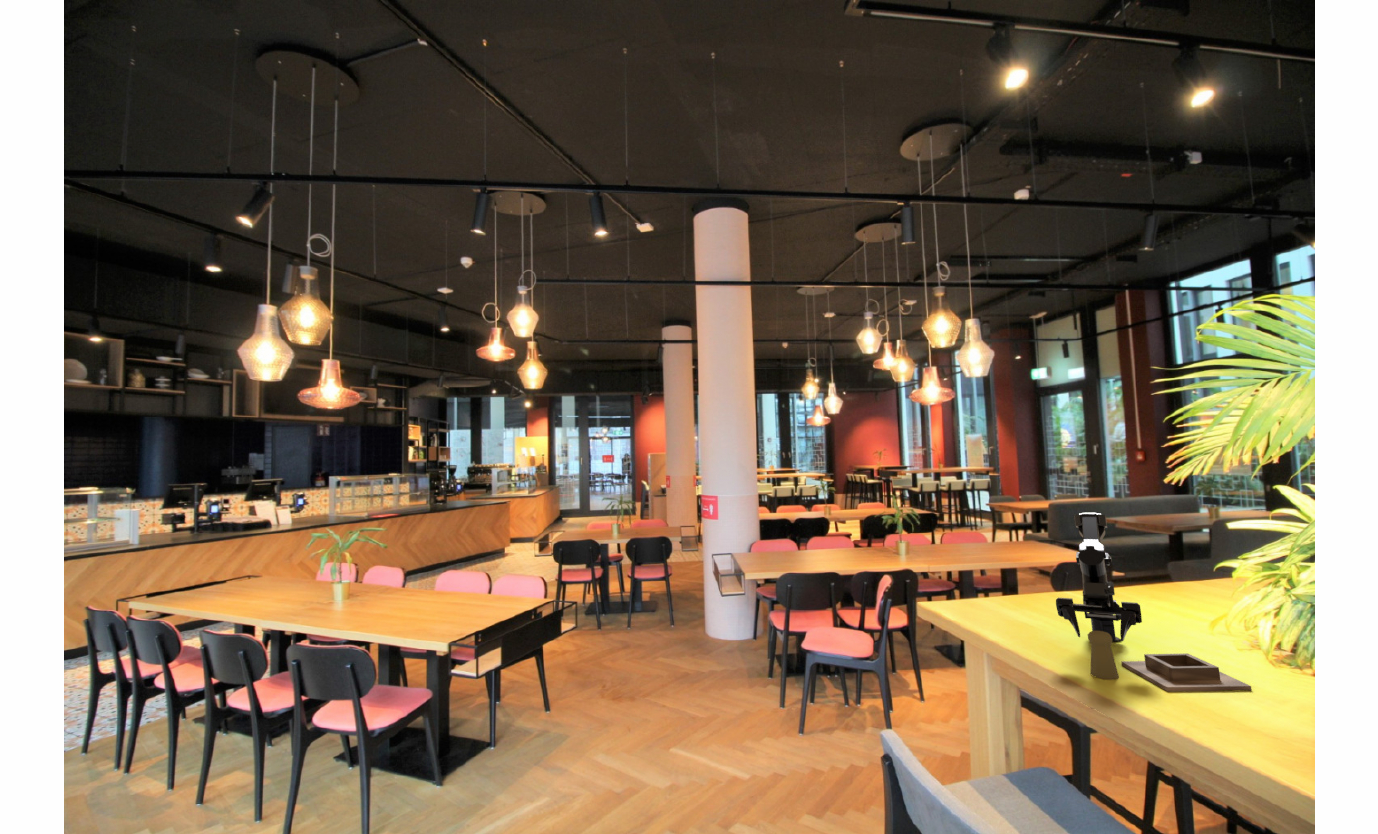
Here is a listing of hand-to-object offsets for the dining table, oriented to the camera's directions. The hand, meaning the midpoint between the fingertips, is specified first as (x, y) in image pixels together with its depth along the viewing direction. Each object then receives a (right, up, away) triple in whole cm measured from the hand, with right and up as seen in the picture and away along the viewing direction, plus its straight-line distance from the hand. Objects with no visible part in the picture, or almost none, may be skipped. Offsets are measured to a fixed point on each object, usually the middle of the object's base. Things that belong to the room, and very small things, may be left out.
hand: (1100, 638), depth 151 cm
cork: (0, -9, -2) cm, 9 cm away
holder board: (+16, -7, -6) cm, 19 cm away
